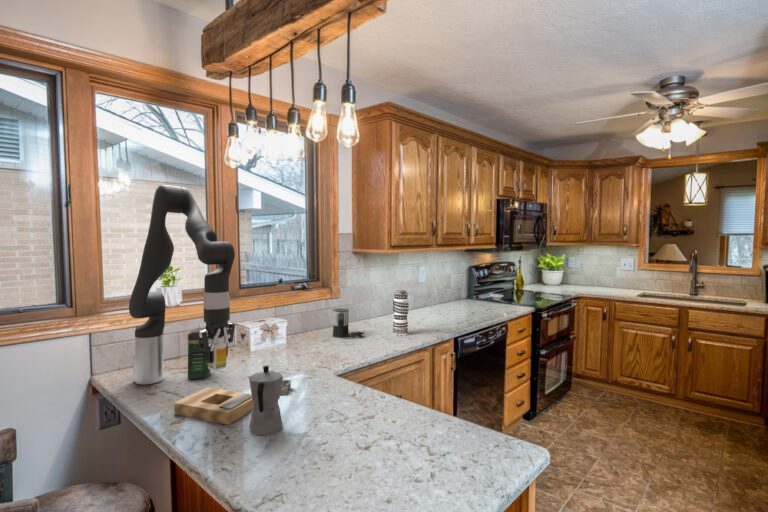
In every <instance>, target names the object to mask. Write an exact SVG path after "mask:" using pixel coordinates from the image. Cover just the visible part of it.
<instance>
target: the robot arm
mask: <svg viewBox="0 0 768 512" xmlns="http://www.w3.org/2000/svg"><path fill="white" fill-rule="evenodd" d="M168 213H171V214H184V215H185V216H186V217H187V218H186V220H185V224H184V228H185V232H186V234H187V235H188V236H187V237H189V239H191V241H192V242H193V244H194V246H195V247H194V248H195V249H196V253H197V258H198V260H199V261H200V262H201V263H202V264H204V265H208V266H209V265H210V266H211V265H217V267H216V269H214V270H213V271H211V272H208V273H206V274H205V276H204V278H203V279H204V285H203V286H204V287H203V291H204V294H203V322H204V323H205V327H204V328H205V330H203V331H198V332H197V335H198V341H199V347H200V350H205V351H206V362H207V363H213V362H214V351H213V349H214V345H215V344H216V343H217V339H218V338H220V337H223V336H224V343H225V344H226V358H227V357H228V354H229V352H228V351H229V350H228V349H229V348H228V347H229V345H230V343H233V342H234V334H235V328H236V327H235V326H236V324H235V323H231V322H230V323H229V322H228V321H230V319H231V315H230V314H231V311H230V310H231V308H230V307H231V302H230V301H231V297H230V290H229V289H230V275H231V271H232V267H233V265H234V261H235V256H236V251H235V247H234V246H233V245H232V243H230V242H229V241H217V239H218V236H217V233H216V232H215V230H214V229H213V228H212V227H211V226H210V224H209V223H208V222H207V220H206V219H205V218H204V216H203V213H202V212H201V209H200V207H199V205H198V203H197V201H196V199H195V197H194V195H193V194H192V192H191V191H190V190H189V189H188V188H187V187H183V186H176V185H170V184H168V185H167V184H160V185H158V186H157V187H156V189H155V191H154V195H153V200H152V207H151V215H150V223H149V227H148V232H147V237H146V239H145V244H144V248H143V251H142V252H143V253H142V255H141V261H140V266H139V270H138V274H137V278H136V281H135V284H134V286H133V289H132V292H131V295H130V299H129V303H128V312H129V315H130V316H131V317H132V318H133V319H145V318H146V319H147V318H148V319H147V321H145V322H144V323H143V324H141V325H140V326H138V327H136V328H135V330H134V356H133V357H132V360H133V361H132V362H133V363H132V365H133V369H132V370H133V374H132V375H133V382H135V384H137V385H152V384H156V383H159V382H162V381H163V380H164V377H165V375H164V374H165V372H164V370H165V369H164V367H165V366H164V365H165V363H164V329H165V324H166V321H165V320H166V299H165V296H164V294H163V293H162V292H160V291H151V289H152V287H153V285H154V284H155V283H156V282H157V280H159V279H160V277H162V275H164V273H166V271H167V270H168V269H169V267H170V265H171V264H172V263H171V262H172V260H173V255H174V252H175V246H174V242H173V241H172V237H171V235H170V233H169V231H168V228H167V225H166V219H167V214H168ZM210 339H213V340H210ZM203 343H204V345H203ZM209 344H211V345H210V347H209Z"/></svg>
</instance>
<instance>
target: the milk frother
mask: <svg viewBox="0 0 768 512" xmlns="http://www.w3.org/2000/svg"><path fill="white" fill-rule="evenodd" d="M349 311H350V309H349V308H343V307H342V308H333V309H332V312H333V313H332V318H333V319H332V337H334V338H347V337H350V336H357V337H361V336H362V335H364V331H363V332H361V331H355V332H352V333H350V332H349V313H350V312H349Z"/></svg>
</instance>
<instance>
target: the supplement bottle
mask: <svg viewBox="0 0 768 512" xmlns="http://www.w3.org/2000/svg"><path fill="white" fill-rule="evenodd" d="M210 340H213V339H210ZM210 345H211V343H210V344H209V347H210ZM213 351H214V362H213V363H208V369H210V371H219V370H223V369H225V368H226V367H227V357H226V344H225V343H224V336H223V337H220V338H218V339H217V343H216V344H215V345H214V349H213Z"/></svg>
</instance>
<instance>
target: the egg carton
mask: <svg viewBox="0 0 768 512" xmlns="http://www.w3.org/2000/svg"><path fill="white" fill-rule="evenodd" d="M291 382H292V378H290V379H288V378H287V379H284V378H283V379H282V386H281V393H280V396H282V395H286V394H288V391H291V390H292V388H291V386H292V385H291Z"/></svg>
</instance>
